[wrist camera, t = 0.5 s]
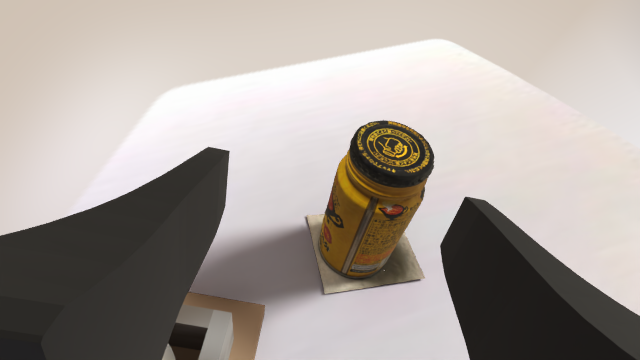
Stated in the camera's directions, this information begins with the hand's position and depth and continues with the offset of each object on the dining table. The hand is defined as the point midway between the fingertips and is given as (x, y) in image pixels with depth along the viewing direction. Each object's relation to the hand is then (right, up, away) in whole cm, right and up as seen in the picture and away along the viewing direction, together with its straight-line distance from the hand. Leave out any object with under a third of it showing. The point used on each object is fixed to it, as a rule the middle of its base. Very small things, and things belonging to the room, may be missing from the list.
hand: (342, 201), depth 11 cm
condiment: (+3, -5, +20) cm, 21 cm away
